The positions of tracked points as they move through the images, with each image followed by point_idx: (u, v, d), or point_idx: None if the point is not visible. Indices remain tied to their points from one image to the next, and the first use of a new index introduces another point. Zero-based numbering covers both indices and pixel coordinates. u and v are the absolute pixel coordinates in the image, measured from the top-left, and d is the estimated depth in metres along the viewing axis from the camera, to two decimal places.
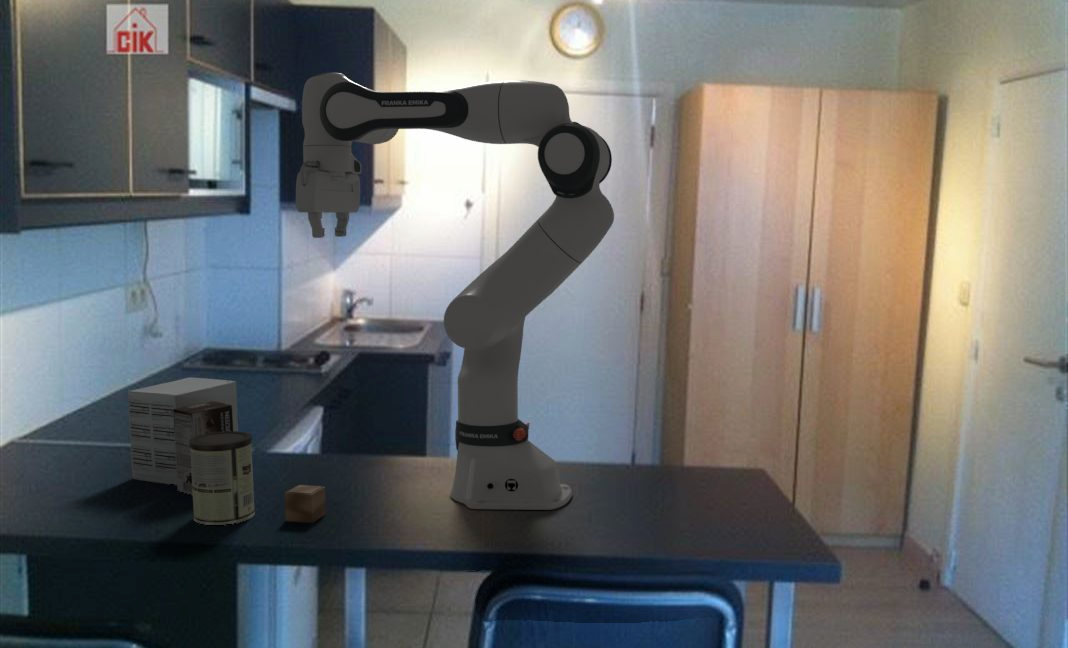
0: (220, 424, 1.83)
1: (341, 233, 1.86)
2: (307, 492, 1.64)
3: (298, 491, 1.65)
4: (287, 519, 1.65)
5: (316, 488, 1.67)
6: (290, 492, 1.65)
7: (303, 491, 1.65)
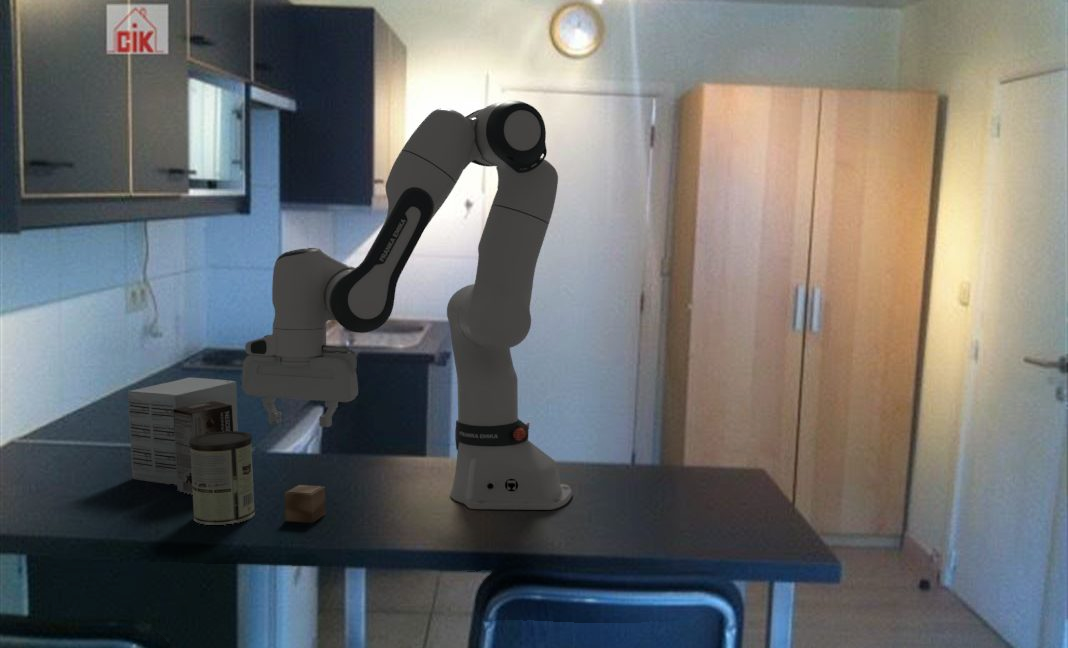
0: (221, 424, 1.83)
1: (280, 418, 1.66)
2: (307, 492, 1.64)
3: (298, 491, 1.65)
4: (287, 519, 1.65)
5: (316, 488, 1.67)
6: (290, 492, 1.65)
7: (303, 491, 1.65)
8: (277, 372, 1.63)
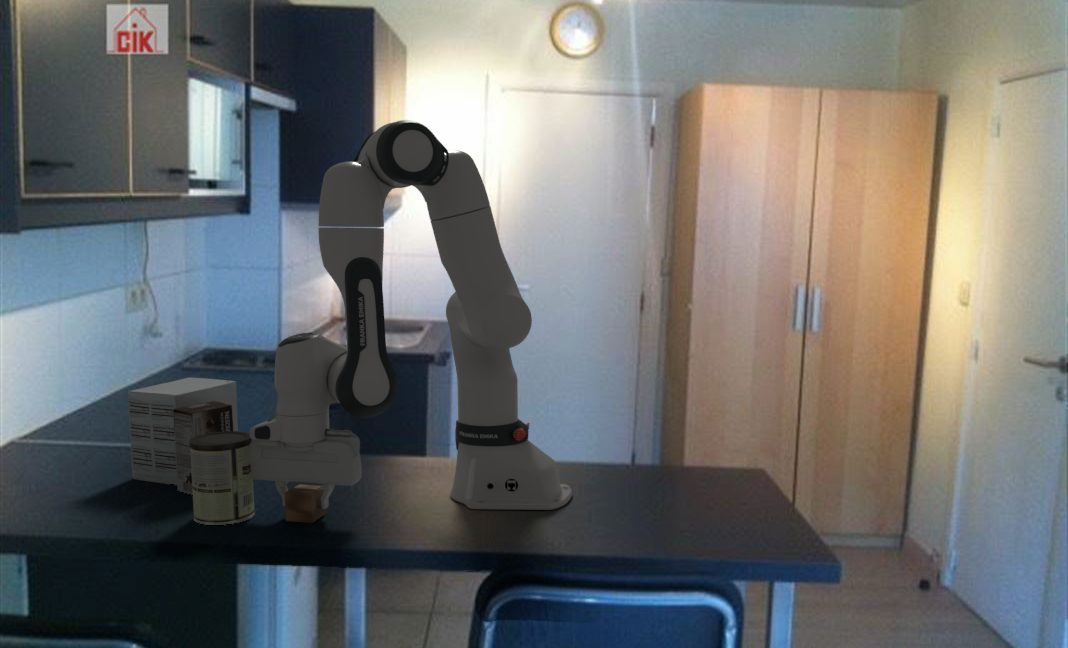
0: (221, 424, 1.83)
1: None
2: (307, 491, 1.64)
3: (298, 490, 1.65)
4: (287, 518, 1.65)
5: (316, 487, 1.67)
6: (290, 491, 1.65)
7: (303, 490, 1.65)
8: (281, 456, 1.65)
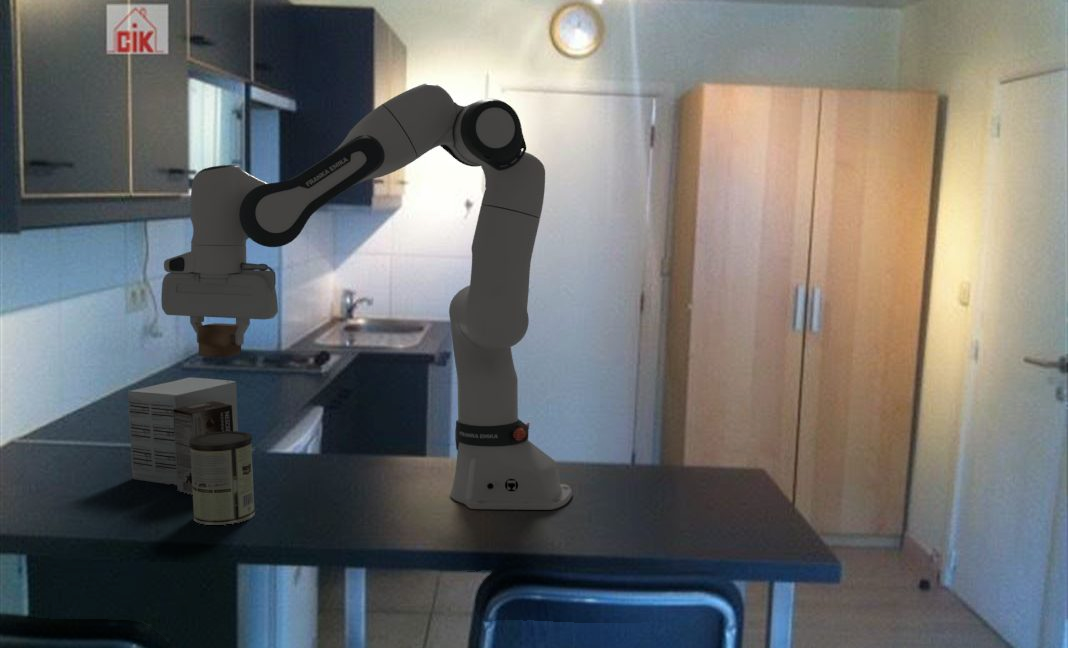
0: (221, 424, 1.83)
1: None
2: (221, 326, 1.62)
3: (212, 325, 1.62)
4: (200, 353, 1.62)
5: (231, 324, 1.64)
6: (204, 326, 1.62)
7: (217, 325, 1.62)
8: (196, 290, 1.62)
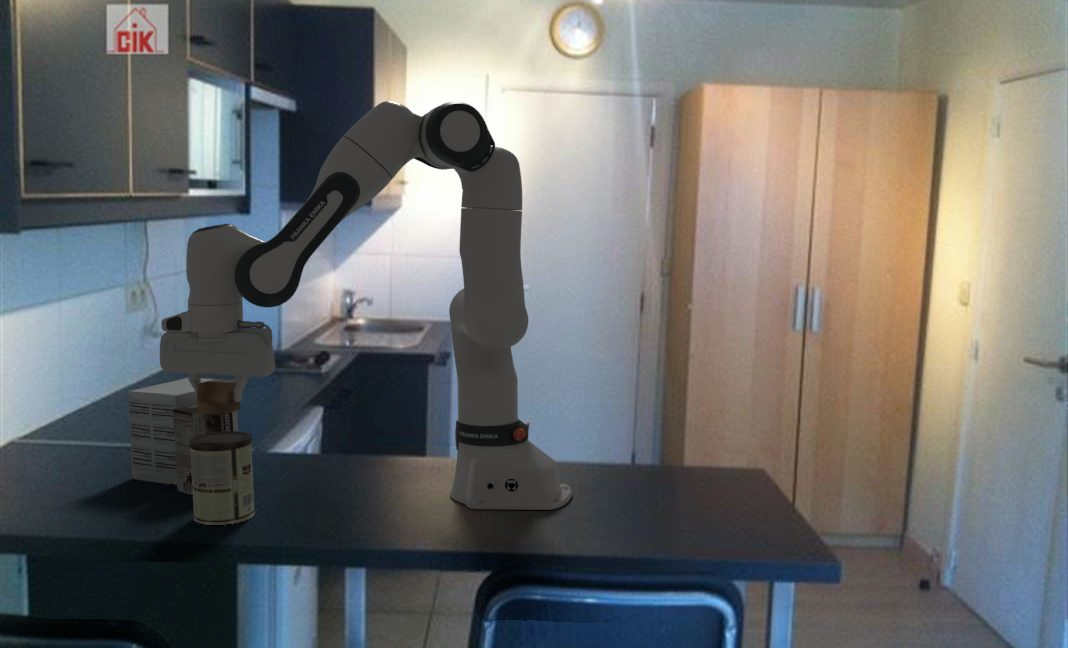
0: (221, 424, 1.83)
1: None
2: (219, 384, 1.63)
3: (210, 383, 1.63)
4: (199, 411, 1.63)
5: (229, 381, 1.65)
6: (202, 384, 1.63)
7: (215, 383, 1.63)
8: (194, 348, 1.64)
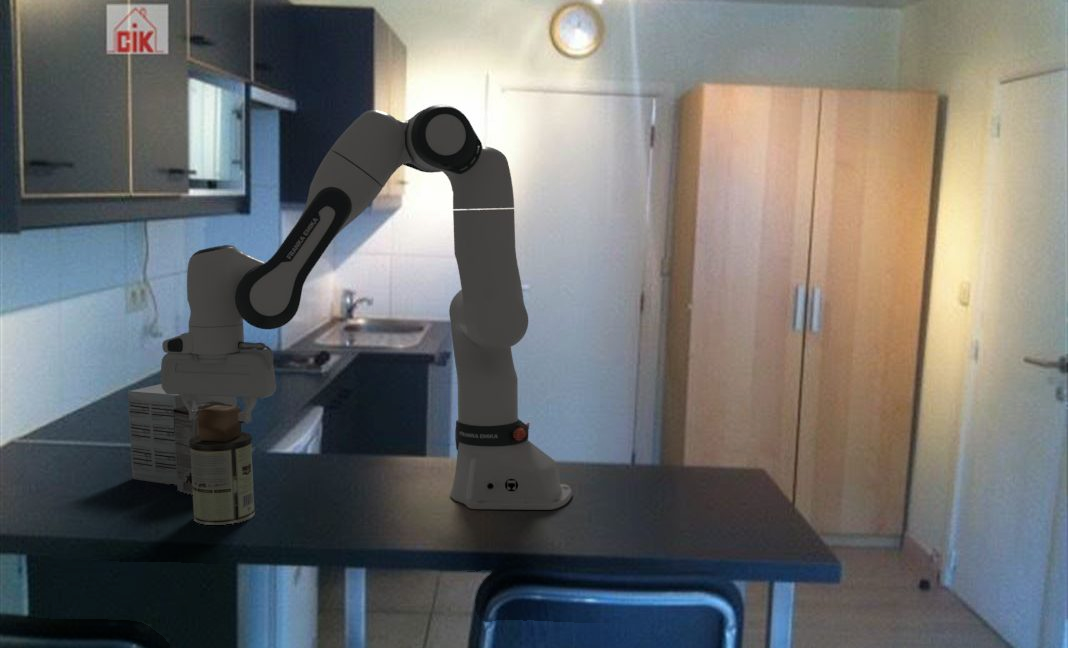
0: None
1: None
2: (220, 410, 1.63)
3: (212, 409, 1.64)
4: (201, 438, 1.64)
5: (231, 407, 1.66)
6: (203, 410, 1.64)
7: (217, 409, 1.64)
8: (195, 370, 1.64)
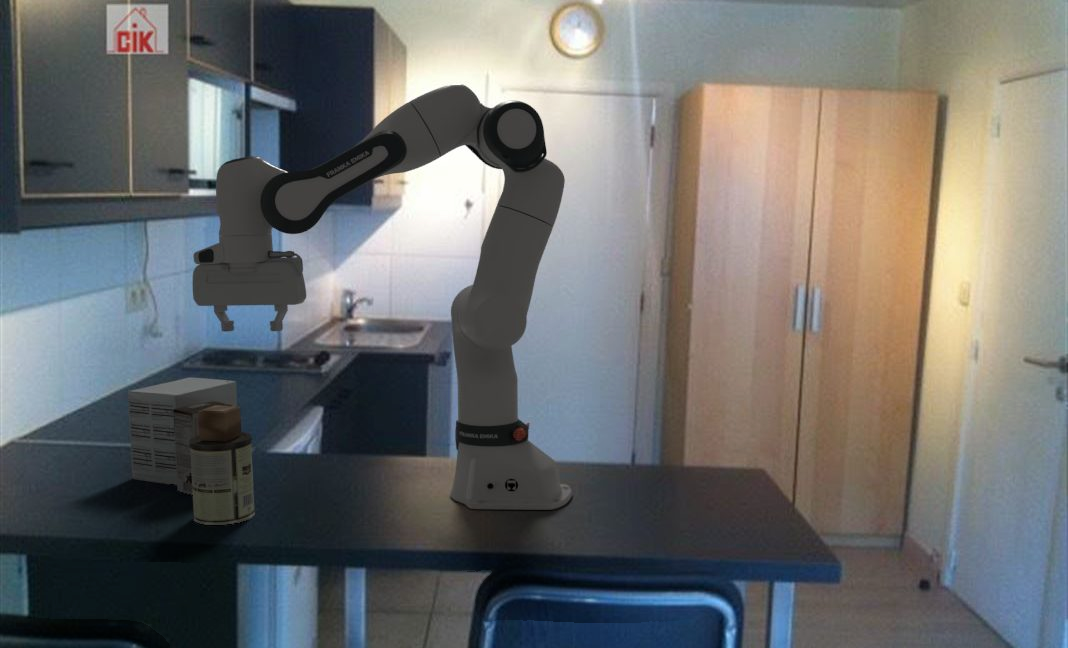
0: None
1: (232, 327, 1.70)
2: (220, 410, 1.63)
3: (212, 410, 1.64)
4: (201, 438, 1.64)
5: (231, 407, 1.66)
6: (203, 410, 1.64)
7: (217, 410, 1.64)
8: (226, 280, 1.67)
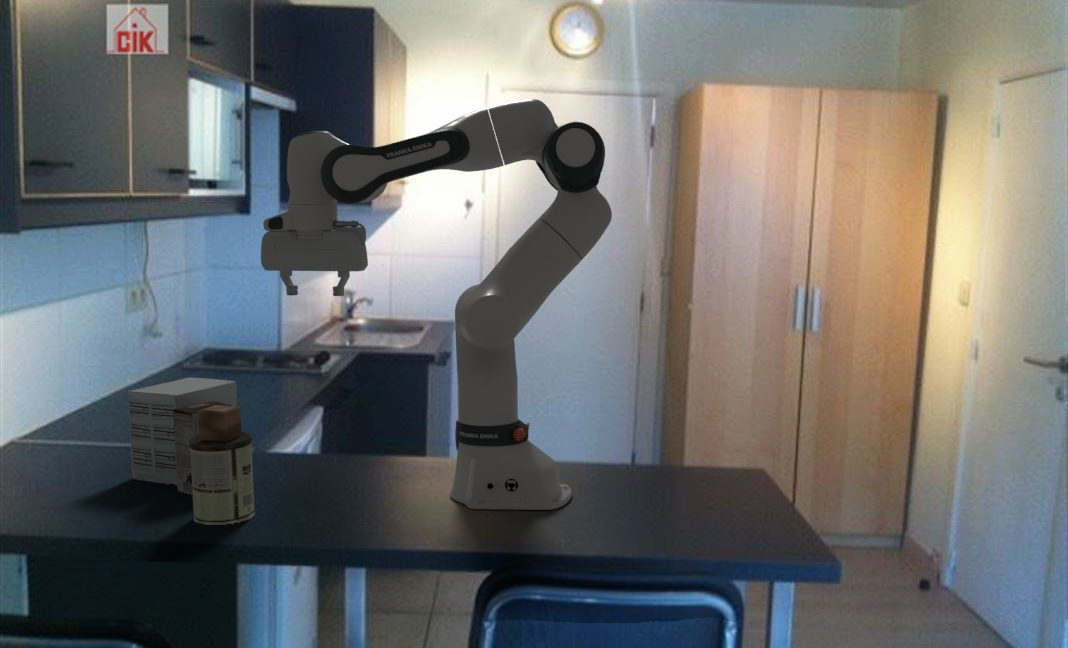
0: None
1: (296, 291, 1.81)
2: (220, 410, 1.63)
3: (212, 410, 1.64)
4: (201, 438, 1.64)
5: (231, 407, 1.66)
6: (203, 410, 1.64)
7: (217, 410, 1.64)
8: (293, 247, 1.78)
